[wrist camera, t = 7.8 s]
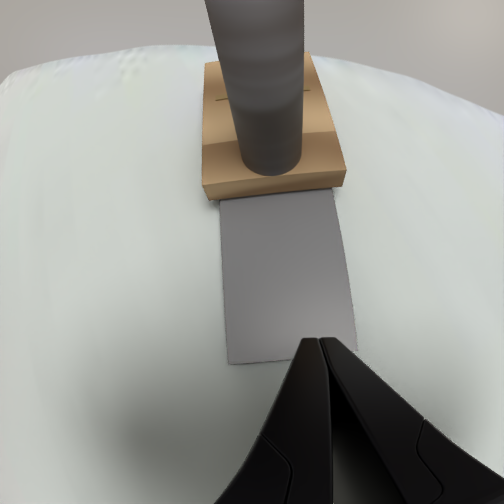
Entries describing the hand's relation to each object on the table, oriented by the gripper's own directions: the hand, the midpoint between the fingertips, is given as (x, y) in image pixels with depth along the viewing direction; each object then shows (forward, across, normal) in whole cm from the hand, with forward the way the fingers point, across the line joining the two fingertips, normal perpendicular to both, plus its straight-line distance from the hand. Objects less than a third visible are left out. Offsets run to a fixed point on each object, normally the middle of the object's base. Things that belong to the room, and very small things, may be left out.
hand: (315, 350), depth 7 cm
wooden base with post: (+14, +1, -5) cm, 15 cm away
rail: (+11, +1, 0) cm, 11 cm away
